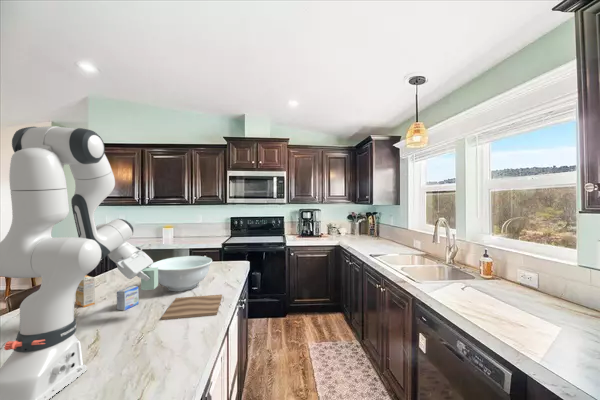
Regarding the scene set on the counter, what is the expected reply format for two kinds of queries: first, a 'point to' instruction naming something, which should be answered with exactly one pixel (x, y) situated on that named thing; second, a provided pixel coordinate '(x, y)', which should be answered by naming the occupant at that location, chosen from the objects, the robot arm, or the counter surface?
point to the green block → (153, 280)
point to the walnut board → (193, 307)
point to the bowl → (182, 271)
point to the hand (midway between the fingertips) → (151, 277)
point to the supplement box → (86, 292)
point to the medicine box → (127, 298)
